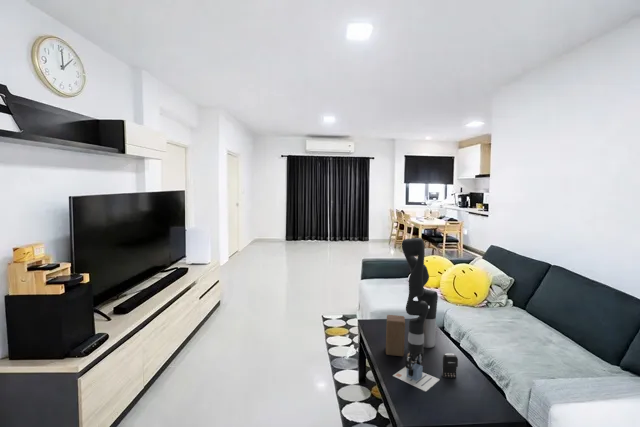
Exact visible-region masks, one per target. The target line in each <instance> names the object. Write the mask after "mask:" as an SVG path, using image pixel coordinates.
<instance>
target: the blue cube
mask: <svg viewBox="0 0 640 427" xmlns="http://www.w3.org/2000/svg"><path fill="white" fill-rule="evenodd" d="M413 363H414V362H413ZM411 366H412V364H411ZM423 367H424V366H423V365H419V364H417V363H416V364H415V365H414V368H413V376H412V377H411V376H409V375H408V370H409V369H408V368H407V377H409V378H411V379H413V380H415V381H417V380H419V379H420V378H421V377H422V372H423V369H424V368H423Z"/></svg>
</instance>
